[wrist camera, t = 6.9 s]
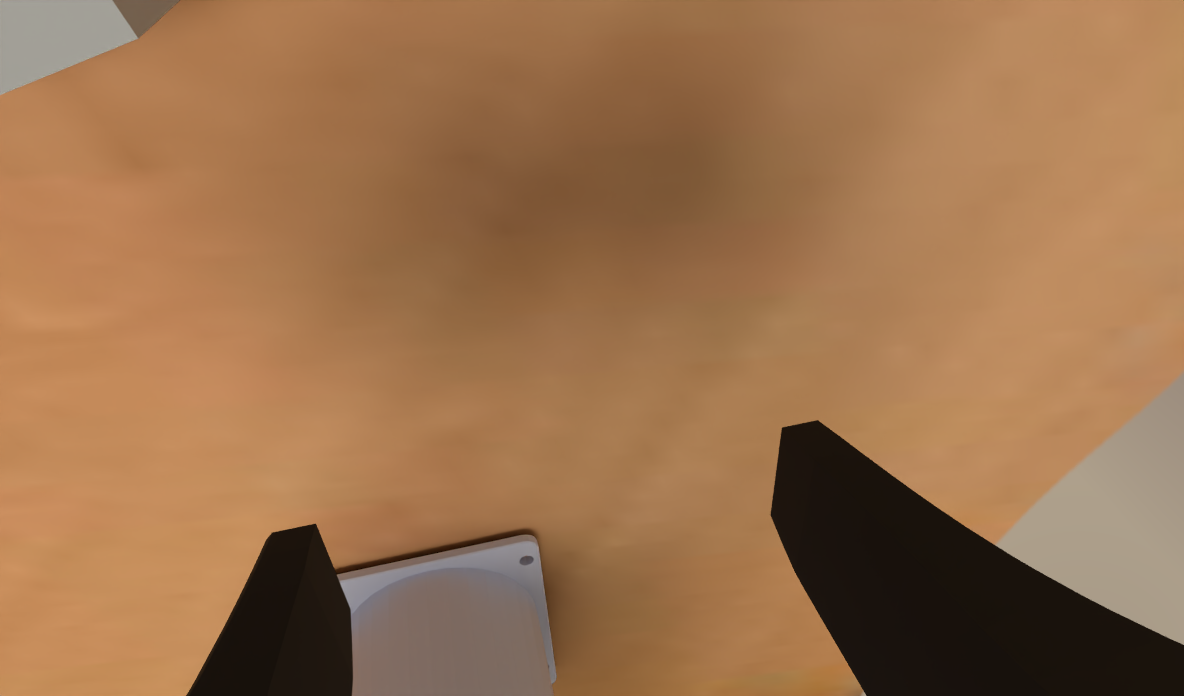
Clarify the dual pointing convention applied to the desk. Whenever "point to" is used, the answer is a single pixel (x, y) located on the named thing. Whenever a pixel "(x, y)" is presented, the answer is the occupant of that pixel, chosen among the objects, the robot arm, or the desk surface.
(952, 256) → the desk surface
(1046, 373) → the desk surface
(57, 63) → the grey cube
